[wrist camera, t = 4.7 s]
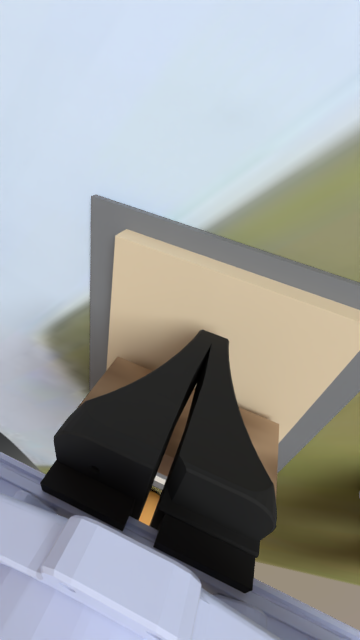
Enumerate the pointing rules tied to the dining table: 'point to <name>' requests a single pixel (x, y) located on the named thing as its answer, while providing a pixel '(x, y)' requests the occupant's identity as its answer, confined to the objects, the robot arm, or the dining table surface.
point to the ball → (149, 508)
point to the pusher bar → (257, 427)
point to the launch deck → (224, 316)
